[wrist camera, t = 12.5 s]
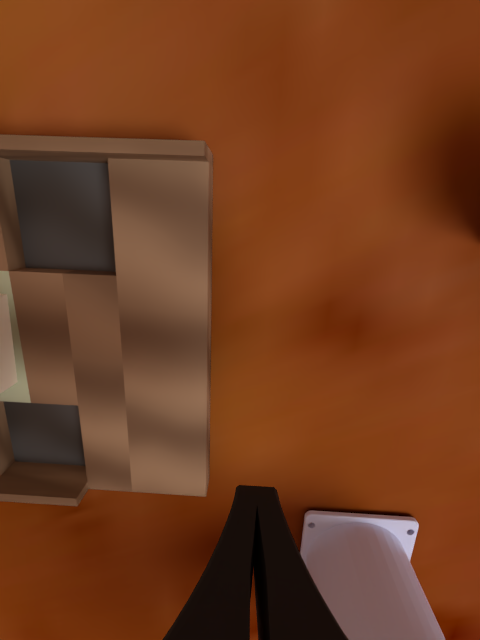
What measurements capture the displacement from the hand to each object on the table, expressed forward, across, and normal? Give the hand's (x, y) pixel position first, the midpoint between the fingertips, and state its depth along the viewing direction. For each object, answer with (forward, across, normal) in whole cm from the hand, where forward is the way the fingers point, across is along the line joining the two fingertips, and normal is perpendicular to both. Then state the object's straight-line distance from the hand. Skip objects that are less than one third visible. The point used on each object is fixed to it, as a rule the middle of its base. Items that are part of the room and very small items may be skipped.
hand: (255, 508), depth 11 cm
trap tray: (+10, +12, -3) cm, 16 cm away
